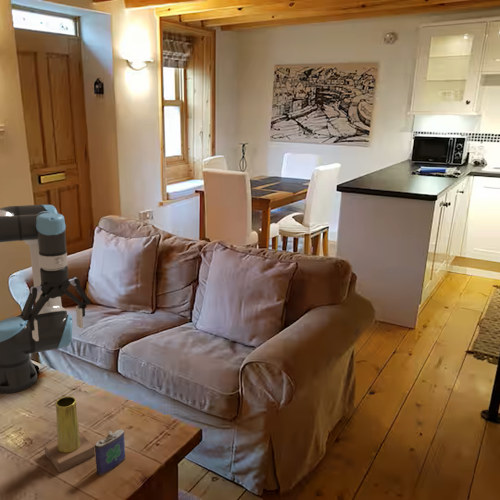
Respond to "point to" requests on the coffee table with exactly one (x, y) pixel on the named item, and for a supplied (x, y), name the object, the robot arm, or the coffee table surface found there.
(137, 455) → the coffee table surface
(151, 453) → the coffee table surface
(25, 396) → the coffee table surface
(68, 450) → the vase
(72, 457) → the plinth
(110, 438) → the flask
